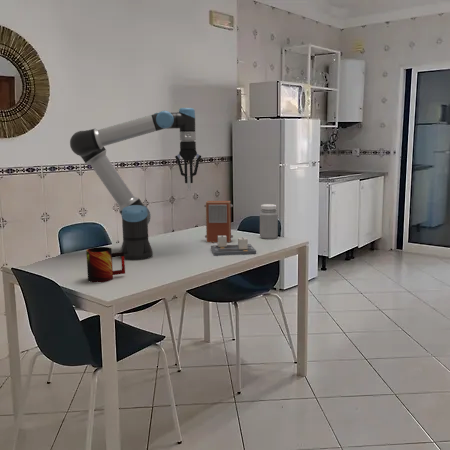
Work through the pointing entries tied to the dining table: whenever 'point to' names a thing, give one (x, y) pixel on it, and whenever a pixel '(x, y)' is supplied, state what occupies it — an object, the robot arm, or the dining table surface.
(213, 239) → the orange rectangular box
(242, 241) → the tab front
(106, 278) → the mug
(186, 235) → the dining table surface
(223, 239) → the tab back
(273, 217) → the jar
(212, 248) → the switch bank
